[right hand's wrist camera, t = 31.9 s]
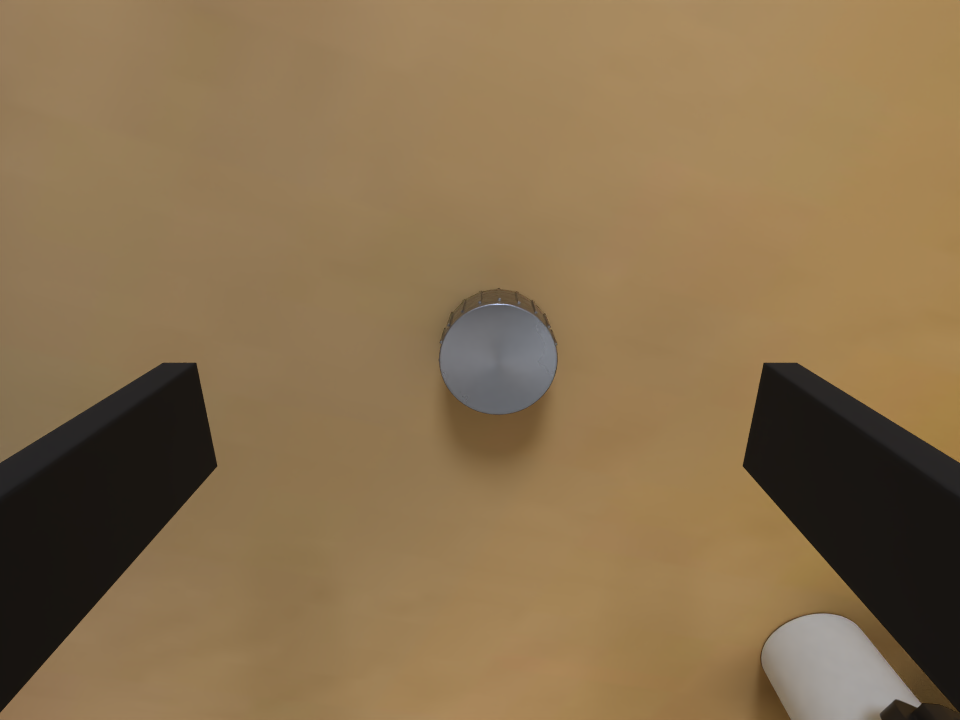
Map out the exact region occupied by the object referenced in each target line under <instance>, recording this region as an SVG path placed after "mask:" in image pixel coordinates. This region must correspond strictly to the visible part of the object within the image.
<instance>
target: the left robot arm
mask: <svg viewBox="0 0 960 720" xmlns="http://www.w3.org/2000/svg"><path fill="white" fill-rule="evenodd" d="M880 717H881V719H882V720H960V713H958V712H956V711H955V712H954V711H953V710H951V709H949V708H946V707H944V706H942V705H939V704H926V703H922V704H921V705H920V706H919V707H918V708H917V707H915V706H912V705H910V704H908V703H905V702H903V701H901V700H898V699H895V700H894V701H893V702H892V703H891V704H889V705H888V706H887V707H886V708H885V709H884V710H883V711H882V712H881V713H880Z"/></svg>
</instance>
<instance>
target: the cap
mask: <svg viewBox="0 0 960 720" xmlns="http://www.w3.org/2000/svg"><path fill="white" fill-rule="evenodd" d="M440 343H441V348H440V354H439V364H440V370H441V374H442V377H443V380H444V382H445V384H446V386H447V387H448V389H449V390H450V392H451V393H452V394H453V395H454V396H455V397H456V398H457V399H458V400H459V401H460V402H462V403H463V404H464V405H466V406H468V407H469V408H471V409H474V410H476V411H479V412H482V413H487V414H496V415H500V414H509V413H514V412H517V411H520V410H523V409H525V408H527V407H529V406H530V405H532V404H534V403H535V402H536V401H537V400H539V399H540V398H541V397H542V396H543V395H544V394H545V392H546V391H547V390H548V388H549V387H550V385H551V383H552V381H553V379H554V376H555V373H556V369H557V362H558V359H557V349H556V345H557V342H556V340H555V337H554V334H553V332H552V330H550V324H549V322H548V319H547V317H546V314H545V313H544V314H543V313H542V311H541V310H540V309H539V308H538V307H537V305H535V302H534V301H533V300H532V301H531V300H529V299H528V298H526V297H525V296H523V295H521V294H519V293H518V292H517V291H516V293H515V292H512V291H507V290H500V288H498V290H489V291H484V292H482V291H479V293H478V294H475V295H473V296H471V297H470V298H468V299H467V300H465V299H464V300H463V302H462V303H461V304H460V305H459V306H458V307H457V309H456V310H455V311H454V312H451V314H450V318H449V321H448V324H447V327H446V328H444V331H443V334H442V337H441V340H440Z"/></svg>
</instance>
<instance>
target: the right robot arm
mask: <svg viewBox="0 0 960 720" xmlns="http://www.w3.org/2000/svg"><path fill="white" fill-rule="evenodd" d="M216 467H217V462H216V457H215V452H214V448H213V443H212V438H211V433H210V428H209V423H208V418H207V413H206V408H205V403H204V399H203V394H202V389H201V384H200V379H199V374H198V369H197V364H196V363H162V364H160V365H159V366H157V367H156V368H154V369H152V370H151V371H149V372H147V373H146V374H144V375H143V376H141V377H139V378H138V379H136V380H134V381H133V382H131V383H130V384H128V385H126V386H125V387H123V388H121V389H120V390H118V391H117V392H115V393H113V394H112V395H110V396H108V397H107V398H105V399H104V400H102V401H100V402H99V403H97V404H95V405H94V406H92V407H91V408H89V409H87V410H86V411H84V412H82V413H81V414H79V415H78V416H76V417H74V418H73V419H71V420H69V421H68V422H66V423H65V424H63V425H61V426H60V427H58V428H56V429H55V430H53V431H52V432H50V433H48V434H47V435H45V436H43V437H42V438H40V439H39V440H37V441H35V442H34V443H32V444H30V445H29V446H27V447H26V448H24V449H22V450H21V451H19V452H17V453H16V454H14V455H13V456H11V457H9V458H8V459H6V460H4V461H3V462H1V463H0V712H1V711H2V710H3V709H4V708H5V707H6V705H7V704H8V703H9V702H10V701H11V700H12V699H13V698H14V696H15V695H16V694H17V693H18V692H19V691H20V690H21V688H22V687H23V686H24V685H25V684H26V683H27V682H28V680H29V679H30V678H31V677H32V676H33V675H34V674H35V673H36V671H37V670H38V669H39V668H40V667H41V666H42V665H43V663H44V662H45V661H46V660H47V659H48V658H49V657H50V655H51V654H52V653H53V652H54V651H55V650H56V649H57V648H58V646H59V645H60V644H61V643H62V642H63V641H64V640H65V638H66V637H67V636H68V635H69V634H70V633H71V632H72V631H73V629H74V628H75V627H76V626H77V625H78V624H79V623H80V621H81V620H82V619H83V618H84V617H85V616H86V615H87V613H88V612H89V611H90V610H91V609H92V608H93V607H94V606H95V604H96V603H97V602H98V601H99V600H100V599H101V598H102V596H103V595H104V594H105V593H106V592H107V591H108V590H109V589H110V587H111V586H112V585H113V584H114V583H115V582H116V581H117V579H118V578H119V577H120V576H121V575H122V574H123V573H124V571H125V570H126V569H127V568H128V567H129V566H130V565H131V564H132V562H133V561H134V560H135V559H136V558H137V557H138V556H139V554H140V553H141V552H142V551H143V550H144V549H145V548H146V547H147V545H148V544H149V543H150V542H151V541H152V540H153V539H154V537H155V536H156V535H157V534H158V533H159V532H160V531H161V529H162V528H163V527H164V526H165V525H166V524H167V523H168V522H169V520H170V519H171V518H172V517H173V516H174V515H175V514H176V512H177V511H178V510H179V509H180V508H181V507H182V506H183V504H184V503H185V502H186V501H187V500H188V499H189V498H190V497H191V495H192V494H193V493H194V492H195V491H196V490H197V489H198V487H199V486H200V485H201V484H202V483H203V482H204V481H205V480H206V478H207V477H208V476H209V475H210V474H211V473H212V472H213V470H214V469H215V468H216ZM743 467H744V468H745V469H746V470H747V472H748V473H749V474H750V475H751V476H752V477H753V478H754V480H755V481H756V482H757V483H758V484H759V485H760V486H761V487H762V489H763V490H764V491H765V492H766V493H767V494H768V495H769V497H770V498H771V499H772V500H773V501H774V502H775V503H776V504H777V506H778V507H779V508H780V509H781V510H782V511H783V512H784V514H785V515H786V516H787V517H788V518H789V519H790V520H791V522H792V523H793V524H794V525H795V526H796V527H797V528H798V529H799V531H800V532H801V533H802V534H803V535H804V536H805V537H806V539H807V540H808V541H809V542H810V543H811V544H812V545H813V547H814V548H815V549H816V550H817V551H818V552H819V553H820V554H821V556H822V557H823V558H824V559H825V560H826V561H827V562H828V564H829V565H830V566H831V567H832V568H833V569H834V570H835V571H836V573H837V574H838V575H839V576H840V577H841V578H842V579H843V581H844V582H845V583H846V584H847V585H848V586H849V587H850V589H851V590H852V591H853V592H854V593H855V594H856V595H857V596H858V598H859V599H860V600H861V601H862V602H863V603H864V604H865V606H866V607H867V608H868V609H869V610H870V611H871V612H872V613H873V615H874V616H875V617H876V618H877V619H878V620H879V621H880V623H881V624H882V625H883V626H884V627H885V628H886V629H887V631H888V632H889V633H890V634H891V635H892V636H893V637H894V638H895V640H896V641H897V642H898V643H899V644H900V645H901V646H902V648H903V649H904V650H905V651H906V652H907V653H908V654H909V655H910V657H911V658H912V659H913V660H914V661H915V662H916V663H917V665H918V666H919V667H920V668H921V669H922V670H923V671H924V673H925V674H926V675H927V676H928V677H929V678H930V679H931V680H932V682H933V683H934V684H935V685H936V686H937V687H938V688H939V690H940V691H941V692H942V693H943V694H944V695H945V696H946V698H947V699H948V700H949V701H950V702H951V703H952V704H953V705H954V707H955V708H956V709H957V710H958V711H959V712H960V463H959V462H957V461H956V460H954V459H952V458H951V457H949V456H947V455H946V454H944V453H943V452H941V451H939V450H938V449H936V448H934V447H933V446H931V445H930V444H928V443H926V442H925V441H923V440H921V439H920V438H918V437H917V436H915V435H913V434H912V433H910V432H908V431H907V430H905V429H904V428H902V427H900V426H899V425H897V424H895V423H894V422H892V421H891V420H889V419H887V418H886V417H884V416H882V415H881V414H879V413H878V412H876V411H874V410H873V409H871V408H869V407H868V406H866V405H865V404H863V403H861V402H860V401H858V400H856V399H855V398H853V397H852V396H850V395H848V394H847V393H845V392H843V391H842V390H840V389H839V388H837V387H835V386H834V385H832V384H830V383H829V382H827V381H826V380H824V379H822V378H821V377H819V376H817V375H816V374H814V373H813V372H811V371H809V370H808V369H806V368H804V367H803V366H801V365H800V364H798V363H764V364H763V369H762V374H761V379H760V384H759V389H758V394H757V399H756V403H755V408H754V413H753V418H752V423H751V428H750V433H749V438H748V443H747V448H746V452H745V457H744V462H743Z"/></svg>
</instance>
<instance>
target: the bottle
mask: <svg viewBox="0 0 960 720" xmlns="http://www.w3.org/2000/svg"><path fill="white" fill-rule="evenodd" d="M761 661H762V666H763V669H764V671H765V673H766V675H767V677H768V678H769V680H770V682H771V684H772V686H773V688H774V689H775V691H776V693H777V695H778V697H779V699H780V700H781V702H782V704H783V706H784V708H785V710H786V711H787V713H788V715H789V717H790V719H791V720H882V719H881V717H880V713H881V712H882V711H883V710H884V709H885V708H886V707H887V706H888V705H889V704H891V703H892V702H893V701H894V700H895V699H898V700H901V701H903V702H905V703H908V704H910V705H912V706H915V707H917V708H918V707H919V706H920V705H921V703H920V702H919V700H918V699H917V698H916V697H915V695H914V694H913V693H912V692H911V691H910V689H909V688H908V687H907V686H906V684H905V683H904V682H903V681H902V679H901V678H900V677H899V676H898V674H897V673H896V672H895V671H894V669H893V668H892V667H891V666H890V665H889V663H888V662H887V661H886V660H885V658H884V657H883V656H882V655H881V653H880V652H879V651H878V650H877V648H876V647H875V646H874V645H873V643H872V642H871V641H870V640H869V639H868V637H867V636H866V635H865V634H864V632H863V631H862V630H861V629H860V628H859V627H858V625H856V624H855V623H854V622H852V621H851V620H849V619H847V618H845V617H842V616H839V615H834V614H822V613H821V614H811V615H806V616H802V617H799V618H796V619H794V620H791V621H789V622H787V623H786V624H784V625H782V626H781V627H780V628H778V629H777V630H776V631H775V632H774V633H773V634H772V635H771V636H770V637H769V638H768V640H767V641H766V643H765V645H764V647H763V650H762V655H761Z"/></svg>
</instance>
